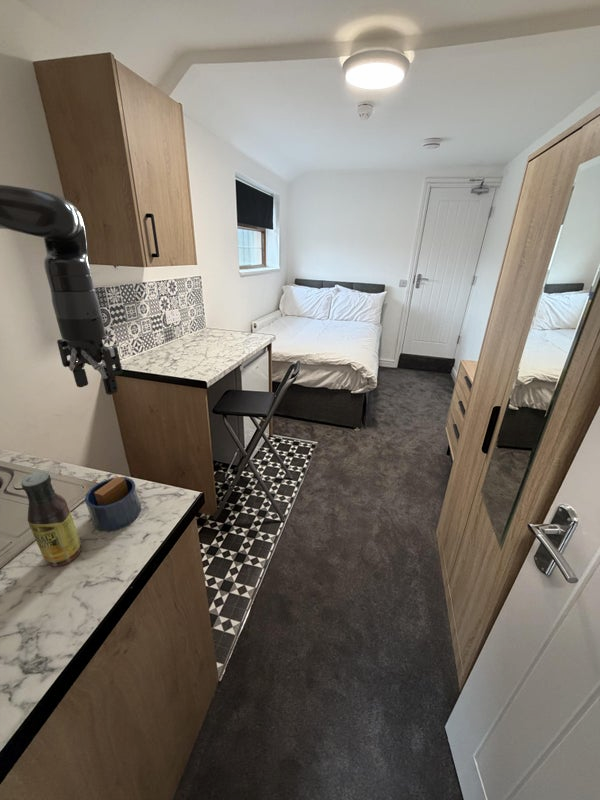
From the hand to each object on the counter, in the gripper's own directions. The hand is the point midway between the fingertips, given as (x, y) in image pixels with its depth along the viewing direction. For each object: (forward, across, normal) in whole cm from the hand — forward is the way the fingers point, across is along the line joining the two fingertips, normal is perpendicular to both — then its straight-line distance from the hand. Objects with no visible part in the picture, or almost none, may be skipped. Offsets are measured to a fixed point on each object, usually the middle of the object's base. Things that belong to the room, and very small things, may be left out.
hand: (97, 389), depth 70 cm
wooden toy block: (+28, +5, -6) cm, 29 cm away
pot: (+29, +5, -6) cm, 30 cm away
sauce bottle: (+29, +4, -18) cm, 35 cm away
